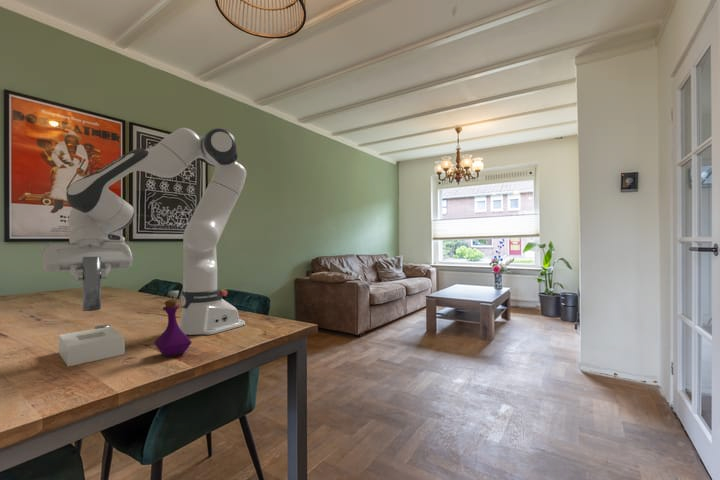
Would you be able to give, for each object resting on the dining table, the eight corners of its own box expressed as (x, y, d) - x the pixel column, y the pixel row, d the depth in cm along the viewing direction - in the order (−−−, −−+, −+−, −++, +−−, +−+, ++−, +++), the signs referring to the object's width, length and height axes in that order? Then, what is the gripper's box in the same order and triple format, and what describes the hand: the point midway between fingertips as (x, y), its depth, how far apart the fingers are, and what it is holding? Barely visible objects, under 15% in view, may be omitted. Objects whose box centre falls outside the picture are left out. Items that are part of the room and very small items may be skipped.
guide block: (110, 342, 102) (110, 326, 102) (124, 354, 92) (124, 336, 92) (58, 352, 93) (58, 334, 93) (67, 366, 83) (67, 346, 83)
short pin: (108, 337, 108) (109, 323, 108) (112, 340, 105) (112, 326, 105) (93, 340, 105) (93, 326, 105) (96, 342, 102) (96, 328, 102)
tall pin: (94, 307, 95) (94, 256, 95) (104, 308, 94) (104, 256, 94) (79, 310, 91) (79, 257, 91) (89, 311, 90) (89, 257, 90)
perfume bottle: (153, 354, 92) (153, 290, 92) (182, 348, 97) (182, 287, 97) (162, 361, 87) (162, 293, 87) (191, 354, 92) (192, 290, 92)
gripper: (41, 236, 91) (40, 273, 83) (130, 236, 105) (136, 268, 98) (41, 251, 94) (40, 289, 87) (127, 250, 108) (133, 282, 101)
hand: (92, 278), depth 92 cm, fingers closed on tall pin, 4 cm apart
